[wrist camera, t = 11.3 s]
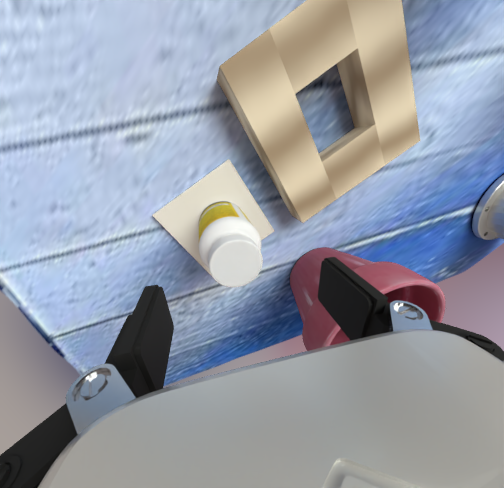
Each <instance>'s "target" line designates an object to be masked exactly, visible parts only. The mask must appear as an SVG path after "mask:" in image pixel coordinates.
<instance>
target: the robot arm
mask: <svg viewBox="0 0 504 488" xmlns="http://www.w3.org/2000/svg"><path fill="white" fill-rule="evenodd" d="M472 229H473V232H474V234H475V235H476V236H477V237H479V238H482V239H486V240H493V239H496V238H503V239H504V175H502V176H501V177H500V178H499V179H497V180H496V181H495V182H494V183H493V184H492V185H491V187H490V188H489V189H488V190H487V191H486V193H485V194H484V196H483V197H482V199H481V200H480V202H479V204H478V206H477V208H476V210H475V213H474V216H473V220H472ZM318 300H319V301H320V303H321V304H322V305H323V306H324V308H325V309H326V310H327V312H328V313H329V314H330V315H331V317H332V318H333V319H334V320H335V322H336V323H337V324H338V325H339V327H340V328H341V329H342V331H343V332H344V333H345V334H346V336H347V337H348V338H349V339H350V341H347V342H343V343H339V344H335V345H331V346H326V347H322V348H318V349H314V350H310V351H306V352H302V353H298V354H294V355H290V356H286V357H282V358H278V359H274V360H270V361H266V362H261V363H257V364H254V365H250V366H246V367H242V368H238V369H234V370H230V371H226V372H222V373H218V374H214V375H210V376H206V377H202V378H199V379H195V380H192V381H188V382H184V383H180V384H177V385H173V386H170V387H166V388H163V385H164V379H165V374H166V369H167V363H168V358H169V352H170V347H171V341H172V336H173V330H174V326H173V321H172V318H171V315H170V311H169V308H168V304H167V301H166V298H165V294H164V291H163V288H162V287H159V286H158V285H153V286H146V287H145V288H144V290H143V292H142V295H141V297H140V299H139V301H138V303H137V305H136V308H135V310H134V312H133V314H132V315H129V316H128V317H127V319H126V321H125V323H124V325H123V327H122V329H121V331H120V333H119V335H118V337H117V339H116V341H115V344H114V346H113V348H112V350H111V352H110V354H109V356H108V358H107V360H106V362H105V364H101V365H98V366H95V367H93V368H91V369H89V370H88V371H86V372H85V373H83V374H82V375H81V376H80V377H79V378H78V379H77V380H76V381H75V382H74V383H73V384H72V386H71V387H70V389H69V390H68V393H67V395H66V404H65V405H64V406H62V407H61V408H60V409H58V410H57V411H56V412H55V413H53V414H52V415H51V416H50V417H49V418H47V419H46V420H44V421H43V422H42V423H41V424H39V425H38V426H37V427H36V428H34V429H33V430H32V431H31V432H29V433H28V434H27V435H25V436H24V437H23V438H22V439H20V440H19V441H18V442H17V443H15V444H14V445H13V446H12V447H10V448H9V449H8V450H6V451H5V452H4V453H3V454H1V456H0V488H504V351H503V350H502V349H501V348H500V347H499V346H498V345H497V344H496V343H494V342H492V341H491V340H489V339H488V338H486V337H484V336H482V335H479V334H476V333H473V332H470V331H467V330H463V329H460V328H457V327H453V326H450V325H446V324H443V323H440V322H436V321H433V320H430V319H429V318H428V316H427V314H426V312H425V311H423V310H422V309H421V308H420V307H418V306H417V305H414V304H412V303H409V302H406V301H400V300H399V301H393V302H391V303H389V302H387V300H388V297H386V296H385V295H384V294H382V293H381V292H380V291H379V290H377V289H376V288H375V287H373V286H372V285H371V284H370V283H368V282H367V281H366V280H364V279H363V278H362V277H360V276H359V275H358V274H357V273H355V272H354V271H353V270H351V269H350V268H349V267H348V266H346V265H345V264H344V263H342V262H341V261H340V260H338V259H337V258H336V257H328V258H325V259H324V261H322V263H321V271H320V279H319V288H318Z"/></svg>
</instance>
